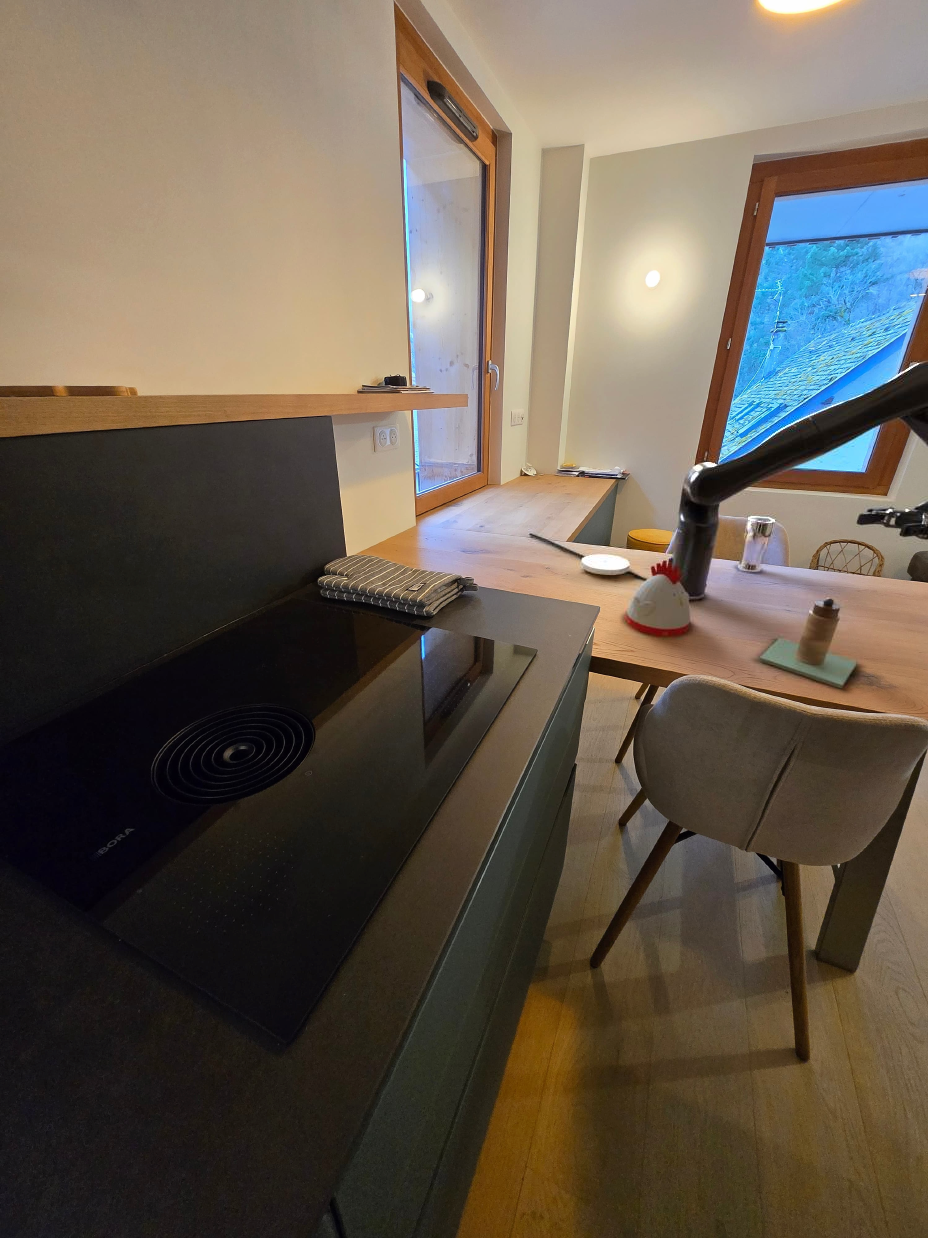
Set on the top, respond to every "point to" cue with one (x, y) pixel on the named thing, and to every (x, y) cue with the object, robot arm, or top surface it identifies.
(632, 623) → the kitchen timer
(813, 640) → the pepper mill
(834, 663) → the rubber mat
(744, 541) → the beer glass
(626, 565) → the plastic lid
